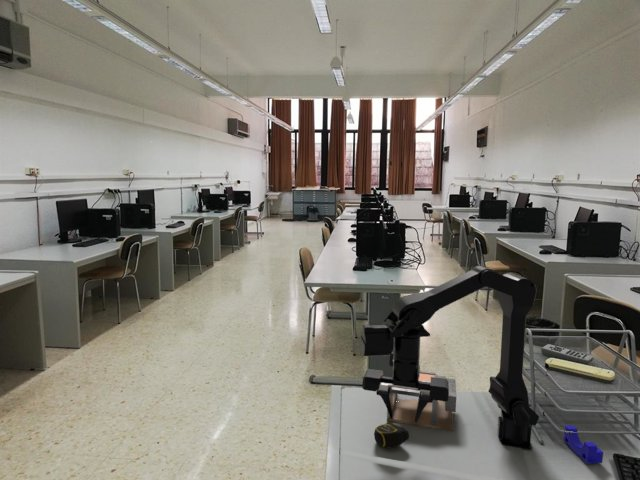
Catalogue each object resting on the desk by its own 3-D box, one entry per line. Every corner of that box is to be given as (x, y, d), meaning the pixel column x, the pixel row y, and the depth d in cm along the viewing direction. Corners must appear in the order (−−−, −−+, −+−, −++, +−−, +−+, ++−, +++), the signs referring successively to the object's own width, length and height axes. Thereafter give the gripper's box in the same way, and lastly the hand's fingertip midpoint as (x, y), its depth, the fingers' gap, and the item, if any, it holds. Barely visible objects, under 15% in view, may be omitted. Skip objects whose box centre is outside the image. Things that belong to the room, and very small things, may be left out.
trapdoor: (454, 393, 115) (455, 377, 114) (455, 412, 106) (456, 394, 105) (397, 385, 119) (397, 369, 119) (393, 403, 110) (393, 386, 109)
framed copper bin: (451, 403, 117) (453, 374, 116) (452, 431, 104) (454, 398, 103) (393, 395, 122) (393, 366, 121) (386, 420, 109) (387, 388, 108)
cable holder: (602, 462, 93) (603, 445, 93) (586, 463, 93) (588, 446, 93) (577, 440, 101) (579, 425, 101) (563, 441, 101) (565, 425, 100)
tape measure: (412, 443, 97) (409, 427, 97) (388, 454, 94) (385, 437, 94) (393, 434, 103) (390, 419, 103) (370, 444, 100) (367, 428, 100)
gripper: (449, 346, 101) (446, 408, 103) (370, 337, 106) (369, 397, 108) (450, 365, 90) (446, 434, 92) (362, 354, 95) (361, 420, 97)
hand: (403, 419), depth 98 cm, fingers open, 5 cm apart
